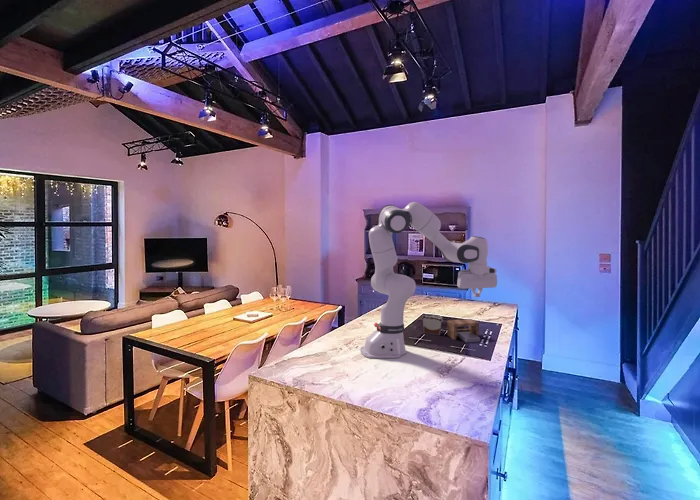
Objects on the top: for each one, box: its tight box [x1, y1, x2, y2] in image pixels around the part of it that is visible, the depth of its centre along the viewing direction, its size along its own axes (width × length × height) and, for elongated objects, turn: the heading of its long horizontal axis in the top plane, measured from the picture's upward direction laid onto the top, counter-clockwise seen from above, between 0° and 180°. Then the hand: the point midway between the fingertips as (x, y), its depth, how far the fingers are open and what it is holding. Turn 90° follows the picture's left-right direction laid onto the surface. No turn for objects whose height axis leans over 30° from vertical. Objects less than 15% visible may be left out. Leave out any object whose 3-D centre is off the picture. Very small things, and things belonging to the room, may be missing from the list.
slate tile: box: [456, 331, 481, 343], centre depth 201 cm, size 8×12×2 cm, turn 10°
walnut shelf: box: [446, 318, 480, 340], centre depth 204 cm, size 15×8×8 cm, turn 102°
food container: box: [421, 313, 444, 336], centre depth 211 cm, size 12×6×10 cm, turn 58°
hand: (476, 296), depth 181 cm, fingers closed
